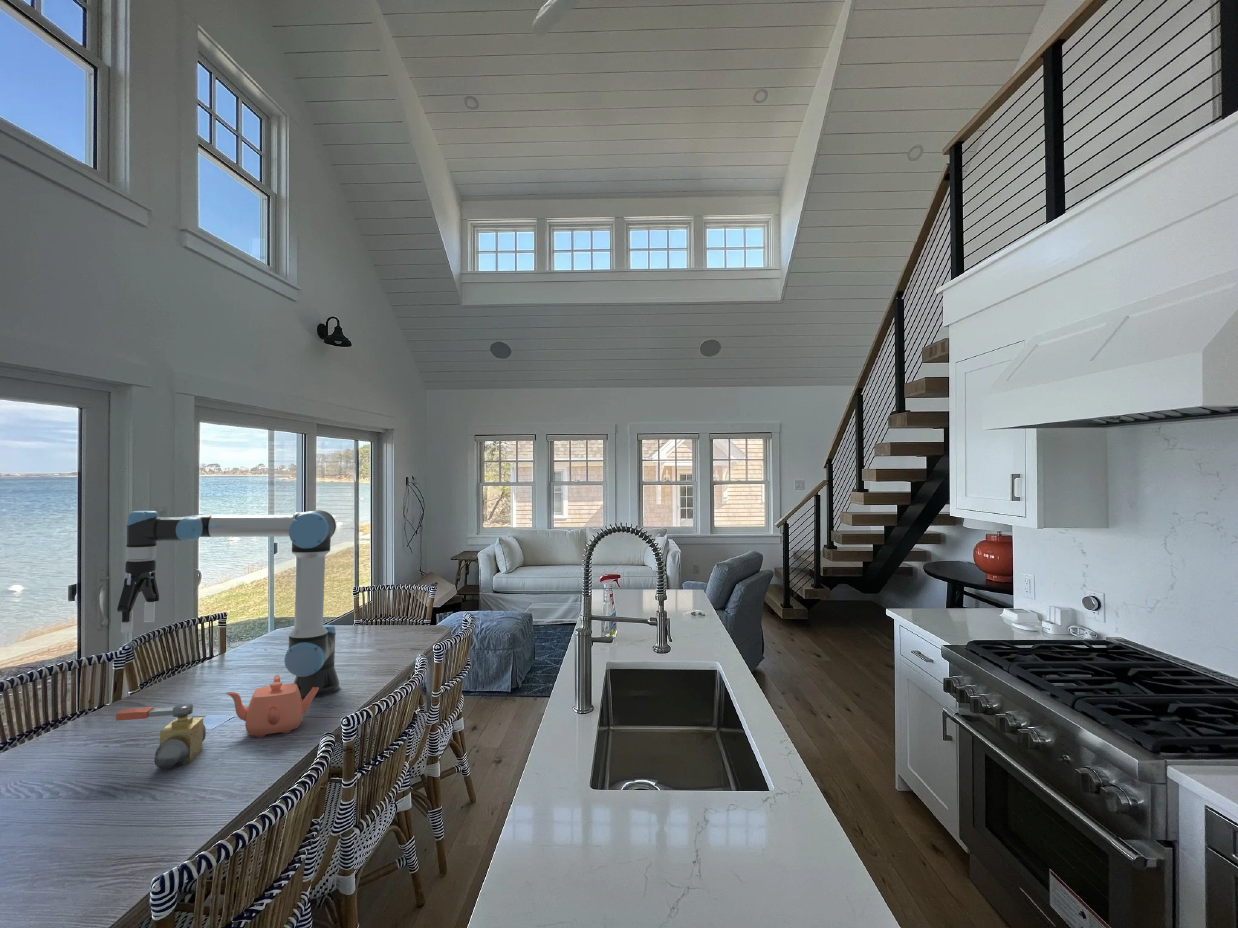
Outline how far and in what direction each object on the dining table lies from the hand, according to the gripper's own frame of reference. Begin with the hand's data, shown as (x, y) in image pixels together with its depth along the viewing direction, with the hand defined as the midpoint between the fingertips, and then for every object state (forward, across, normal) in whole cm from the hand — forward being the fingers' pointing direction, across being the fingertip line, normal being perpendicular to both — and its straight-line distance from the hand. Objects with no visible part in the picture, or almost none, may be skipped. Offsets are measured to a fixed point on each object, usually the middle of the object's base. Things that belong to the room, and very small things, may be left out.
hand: (138, 627), depth 189 cm
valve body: (+28, +35, +26) cm, 52 cm away
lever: (+16, +35, +20) cm, 43 cm away
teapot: (+28, +20, +44) cm, 56 cm away
